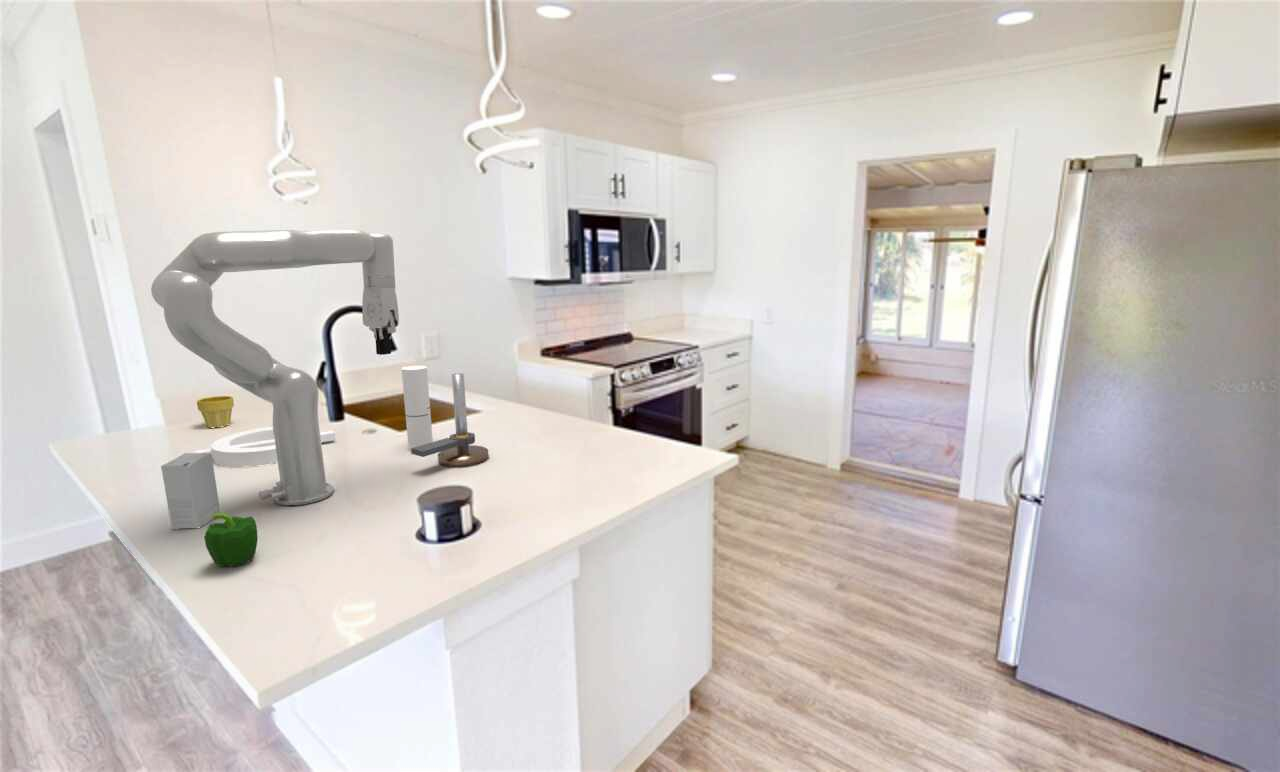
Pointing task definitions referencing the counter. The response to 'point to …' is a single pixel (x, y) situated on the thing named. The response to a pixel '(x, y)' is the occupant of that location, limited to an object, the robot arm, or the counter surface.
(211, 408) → the plant pot
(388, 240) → the robot arm
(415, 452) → the collar
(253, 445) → the white circle with bar
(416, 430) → the cylindrical container
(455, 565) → the counter surface
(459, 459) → the pipe stand
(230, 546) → the bell pepper
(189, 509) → the skincare box
